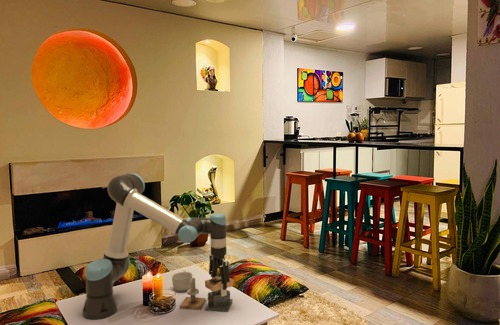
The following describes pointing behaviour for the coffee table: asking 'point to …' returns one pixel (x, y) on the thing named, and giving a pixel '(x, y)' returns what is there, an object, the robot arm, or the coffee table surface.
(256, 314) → the coffee table surface
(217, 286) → the brown wooden block
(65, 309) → the coffee table surface
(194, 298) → the stand
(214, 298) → the grey stepped block
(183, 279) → the teacup
